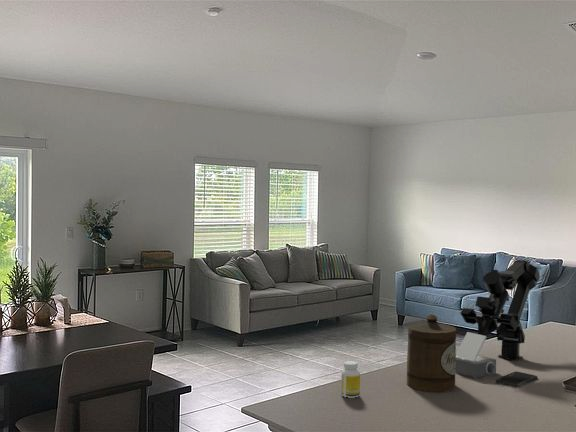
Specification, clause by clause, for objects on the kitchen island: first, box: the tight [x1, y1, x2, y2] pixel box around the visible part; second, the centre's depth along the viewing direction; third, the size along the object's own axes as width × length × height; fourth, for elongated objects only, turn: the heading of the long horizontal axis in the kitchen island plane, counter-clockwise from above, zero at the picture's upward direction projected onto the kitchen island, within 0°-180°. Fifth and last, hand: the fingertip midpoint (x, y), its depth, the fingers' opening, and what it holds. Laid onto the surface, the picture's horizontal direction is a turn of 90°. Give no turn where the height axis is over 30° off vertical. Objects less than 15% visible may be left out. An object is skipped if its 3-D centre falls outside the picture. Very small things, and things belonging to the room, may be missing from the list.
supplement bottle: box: [340, 360, 361, 399], centre depth 182 cm, size 5×5×10 cm
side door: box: [456, 331, 487, 363], centre depth 206 cm, size 10×8×1 cm
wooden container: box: [406, 314, 457, 393], centre depth 193 cm, size 15×15×22 cm
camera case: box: [455, 354, 497, 379], centre depth 207 cm, size 11×9×5 cm
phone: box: [495, 371, 538, 388], centre depth 199 cm, size 8×1×15 cm
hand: (479, 338), depth 208 cm, fingers closed
